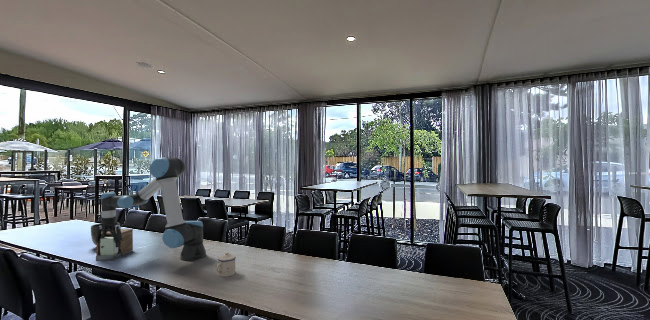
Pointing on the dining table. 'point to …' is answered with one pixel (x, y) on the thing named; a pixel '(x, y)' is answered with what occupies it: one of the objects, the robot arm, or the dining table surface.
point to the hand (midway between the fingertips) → (109, 252)
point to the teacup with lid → (226, 265)
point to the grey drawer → (113, 257)
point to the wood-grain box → (125, 243)
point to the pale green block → (107, 246)
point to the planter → (94, 231)
